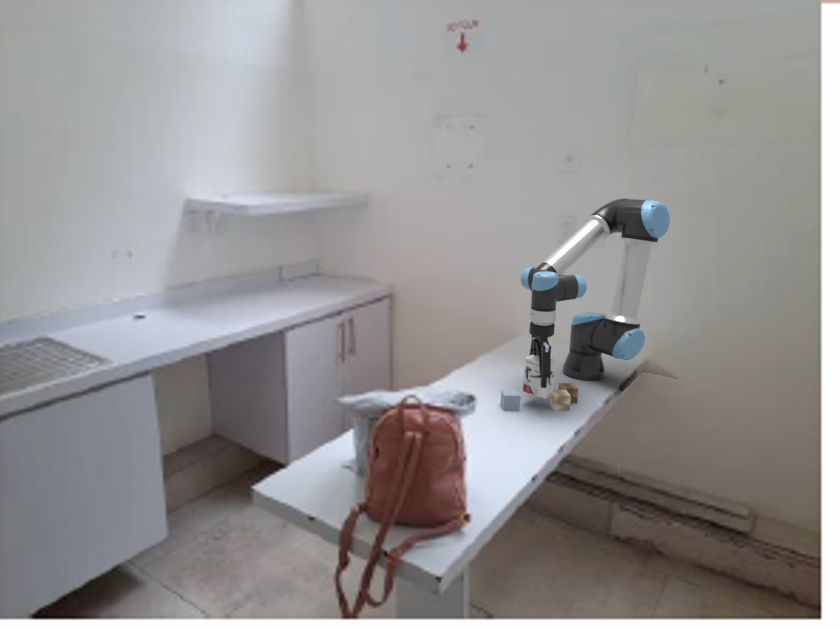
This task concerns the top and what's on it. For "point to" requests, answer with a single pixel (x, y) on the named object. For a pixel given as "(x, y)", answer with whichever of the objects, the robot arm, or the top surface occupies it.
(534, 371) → the ink box
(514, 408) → the cube slate
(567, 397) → the cube maple
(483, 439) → the top surface
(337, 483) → the top surface
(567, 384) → the cube walnut
